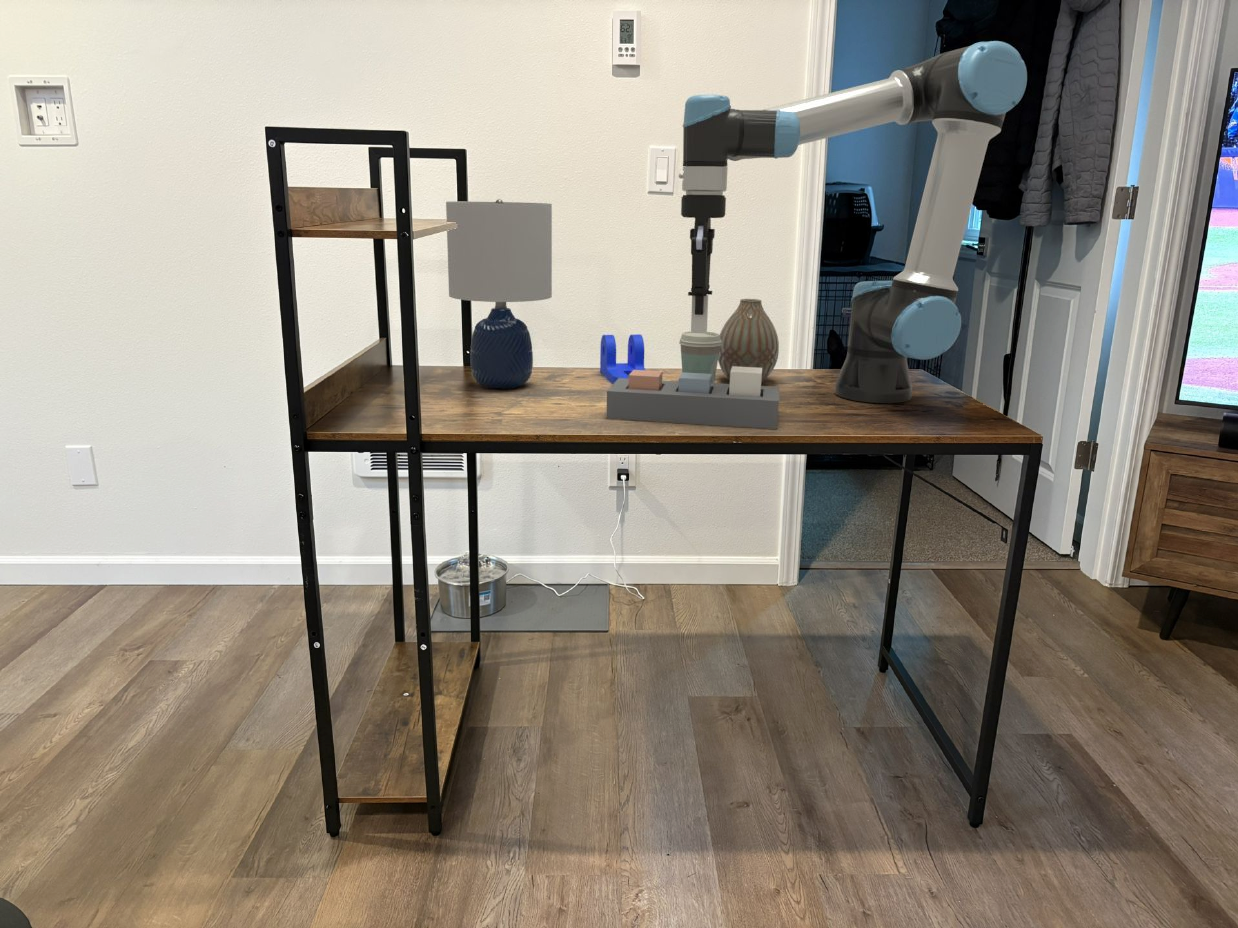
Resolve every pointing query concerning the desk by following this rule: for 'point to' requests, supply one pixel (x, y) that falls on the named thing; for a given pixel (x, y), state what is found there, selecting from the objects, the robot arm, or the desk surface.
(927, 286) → the robot arm
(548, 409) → the desk surface
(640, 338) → the bracket
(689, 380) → the slate key
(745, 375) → the white key
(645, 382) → the terracotta key
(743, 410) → the grey socket block
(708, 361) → the coffee cup
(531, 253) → the lamp
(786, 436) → the desk surface
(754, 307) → the vase
